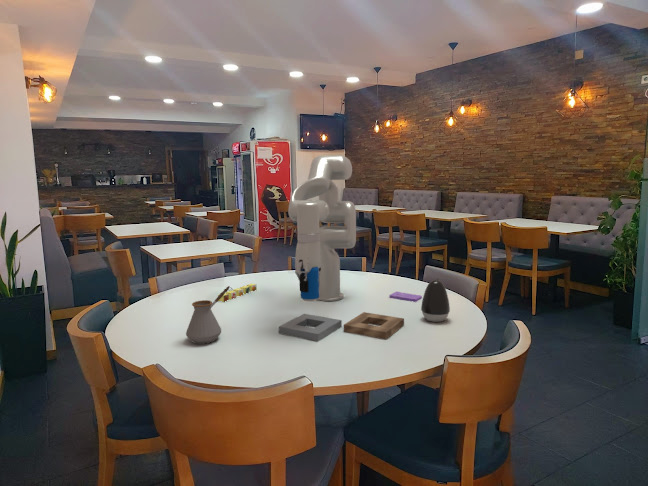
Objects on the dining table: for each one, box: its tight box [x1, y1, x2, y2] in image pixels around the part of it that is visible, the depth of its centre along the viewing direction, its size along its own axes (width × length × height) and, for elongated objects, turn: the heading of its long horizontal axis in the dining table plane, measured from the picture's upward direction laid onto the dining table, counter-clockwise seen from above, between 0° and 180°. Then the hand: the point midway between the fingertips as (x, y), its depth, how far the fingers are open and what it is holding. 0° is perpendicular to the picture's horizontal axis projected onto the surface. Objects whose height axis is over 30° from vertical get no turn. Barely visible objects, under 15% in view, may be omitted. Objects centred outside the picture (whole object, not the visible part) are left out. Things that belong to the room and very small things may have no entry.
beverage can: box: [300, 266, 319, 302], centre depth 157 cm, size 6×6×12 cm
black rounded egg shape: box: [420, 278, 451, 323], centre depth 167 cm, size 10×10×15 cm
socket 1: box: [278, 313, 343, 342], centre depth 159 cm, size 16×16×2 cm
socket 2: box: [343, 311, 405, 340], centre depth 160 cm, size 16×16×2 cm
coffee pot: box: [185, 285, 233, 345], centre depth 155 cm, size 21×12×15 cm, turn 155°
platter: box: [217, 283, 258, 303], centre depth 206 cm, size 32×32×3 cm
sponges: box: [389, 291, 423, 303], centre depth 197 cm, size 7×13×2 cm, turn 55°
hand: (309, 288), depth 157 cm, fingers closed on beverage can, 6 cm apart
